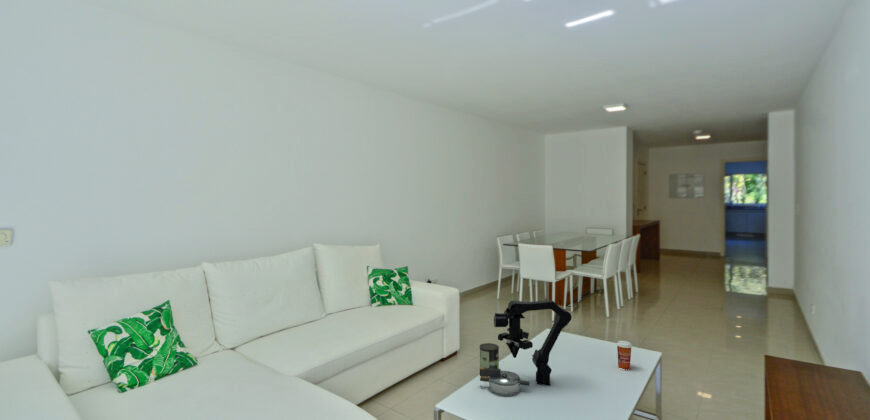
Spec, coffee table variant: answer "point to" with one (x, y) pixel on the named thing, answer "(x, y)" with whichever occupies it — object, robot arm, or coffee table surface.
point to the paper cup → (624, 354)
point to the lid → (500, 376)
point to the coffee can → (489, 355)
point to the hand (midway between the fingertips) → (514, 357)
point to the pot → (504, 387)
